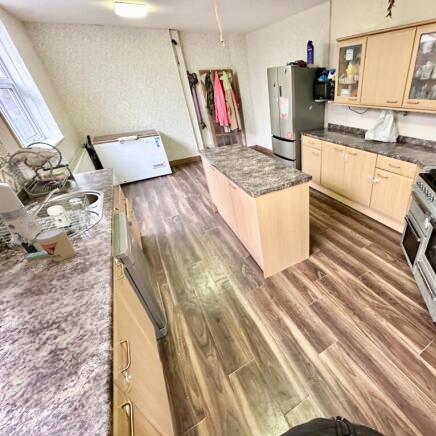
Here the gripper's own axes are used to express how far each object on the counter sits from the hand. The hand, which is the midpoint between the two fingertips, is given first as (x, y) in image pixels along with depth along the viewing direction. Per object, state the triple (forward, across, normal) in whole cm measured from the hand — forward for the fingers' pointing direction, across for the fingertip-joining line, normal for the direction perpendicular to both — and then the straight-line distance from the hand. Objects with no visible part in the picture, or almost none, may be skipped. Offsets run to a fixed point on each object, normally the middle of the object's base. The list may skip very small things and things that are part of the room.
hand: (38, 247), depth 105 cm
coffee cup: (+4, -6, -11) cm, 13 cm away
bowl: (+1, 0, 0) cm, 1 cm away
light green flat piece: (+4, +1, -1) cm, 4 cm away
